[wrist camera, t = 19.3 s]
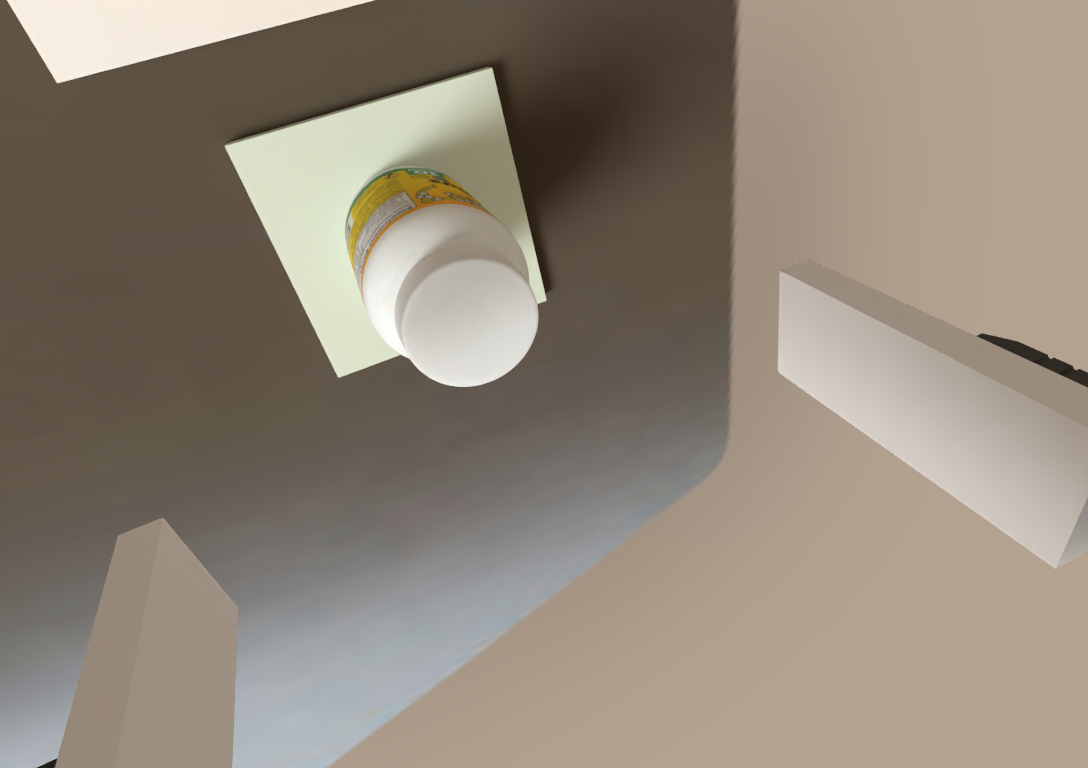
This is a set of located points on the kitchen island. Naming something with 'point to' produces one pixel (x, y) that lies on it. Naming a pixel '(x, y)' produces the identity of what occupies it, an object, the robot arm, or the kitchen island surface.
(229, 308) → the kitchen island surface
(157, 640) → the robot arm
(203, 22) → the frame
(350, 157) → the mat
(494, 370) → the supplement bottle
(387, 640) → the kitchen island surface
